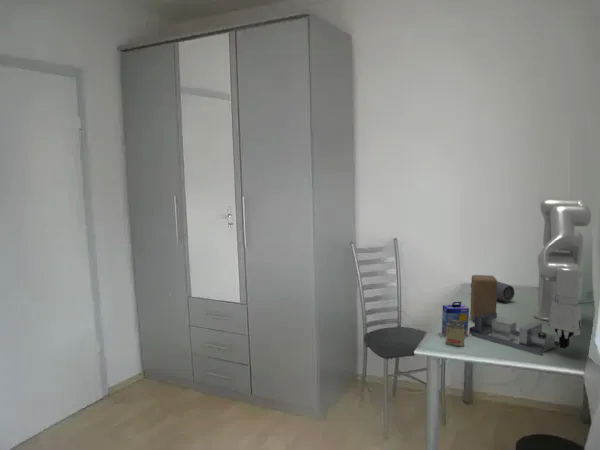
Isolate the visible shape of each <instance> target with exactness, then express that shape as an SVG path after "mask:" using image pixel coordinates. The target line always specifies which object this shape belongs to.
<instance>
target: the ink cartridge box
mask: <svg viewBox="0 0 600 450" xmlns="http://www.w3.org/2000/svg"><path fill="white" fill-rule="evenodd" d="M469 314H470V308H469V307H468V306H466V305H465V304H462V301H453V302H452V304H442V314H441V315H442V316H441V317H442V320H441V321H442V322H441V333H442V334H443V335H444V336H445V337H446V330H447V323H450V319H454V320H459V321H461V320H462V321H463V323H462V325H464V328H465V330H464V337H467V335H468V334H469V316H470V315H469ZM452 323H453V322H452ZM457 324H460V323H457Z"/></svg>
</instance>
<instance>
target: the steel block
mask: <svg viewBox="0 0 600 450" xmlns="http://www.w3.org/2000/svg"><path fill="white" fill-rule="evenodd" d="M516 331H517V322H516V321H513V320H510V319H505V318H502V317H497V318H496V319H493V320H492V329H491V333H490V336H493V337H496V338H500V339H504V340H507V341H511V342H512V341H513V340H516V339H517V335H516Z"/></svg>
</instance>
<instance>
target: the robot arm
mask: <svg viewBox="0 0 600 450" xmlns="http://www.w3.org/2000/svg"><path fill="white" fill-rule="evenodd" d="M539 207H540V213H541V214H542V217H543V220H544V225H543V226H544V227H543V238H542V240H543V241H542V245H543V248H542V250H541V251H540V252H539V254H538V256H537V264H538V278H539V279H538V294H537V295H538V297H537V311H535V312H534V313H533V317H534V318H536V319H538V320H541V321H547V322H548V326H549V329H550V330H551V331H554V332H555V333H556V334H557V337H558V338H559V339H558V341H559V344H560V346H559V348H560V349H563V350H565V349H567V348H568V347H570V338H571V337H573V336H580V335H581V330H582V329H581V328H582V312H581V305H580V304H579V289H580V288H579V286H580V279H581V278H582V273H583V272H582V268H581V265H582V256H583V255H582V254H583V249H584V248H583V247H584V238H583V237H584V236H583V233H582V232H581V231H579V230H577V229H576V230H575V227H588V225H590V223H591V220H592V212H591V209H590V207H589V205H588V204H587V202H586V201H585V200H584V199H577V198H545V199H543V200H541V202H540V206H539Z"/></svg>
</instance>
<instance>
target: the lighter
mask: <svg viewBox="0 0 600 450" xmlns="http://www.w3.org/2000/svg"><path fill="white" fill-rule="evenodd" d="M452 322H453V323H452ZM457 323H460V324H457ZM462 323H463V321H462V320H461V321H459V320H454V319H450V323H447V330H446V336H445V343H446V344H447V345H450V346H456V347H457V346H458V347H464V346H465V336H464V330H465V328H464V325H462Z"/></svg>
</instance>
